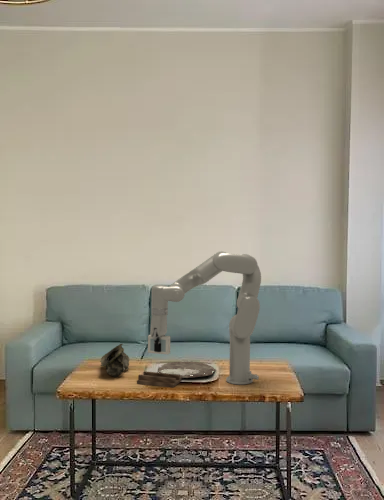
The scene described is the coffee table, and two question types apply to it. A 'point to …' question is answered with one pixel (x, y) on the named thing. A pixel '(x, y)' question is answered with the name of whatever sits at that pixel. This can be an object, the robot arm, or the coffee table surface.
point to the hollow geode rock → (115, 361)
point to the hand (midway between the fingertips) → (159, 350)
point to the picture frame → (164, 345)
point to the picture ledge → (159, 379)
